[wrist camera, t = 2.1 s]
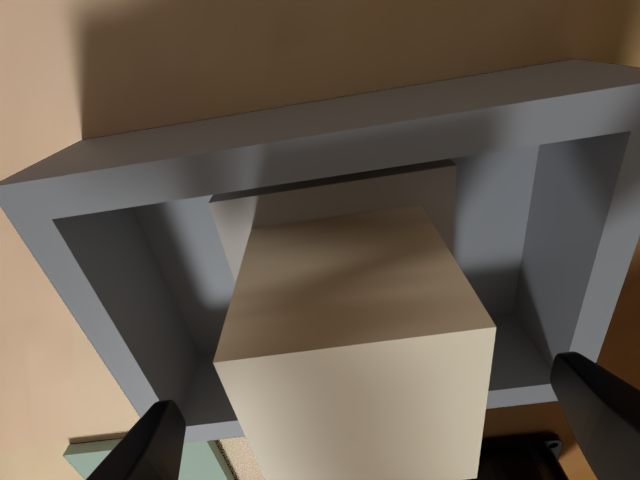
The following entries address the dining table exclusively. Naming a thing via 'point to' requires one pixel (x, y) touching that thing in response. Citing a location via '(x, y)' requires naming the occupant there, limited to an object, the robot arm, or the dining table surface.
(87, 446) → the pad
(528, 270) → the box
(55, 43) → the dining table surface
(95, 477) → the robot arm
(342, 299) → the birch block
